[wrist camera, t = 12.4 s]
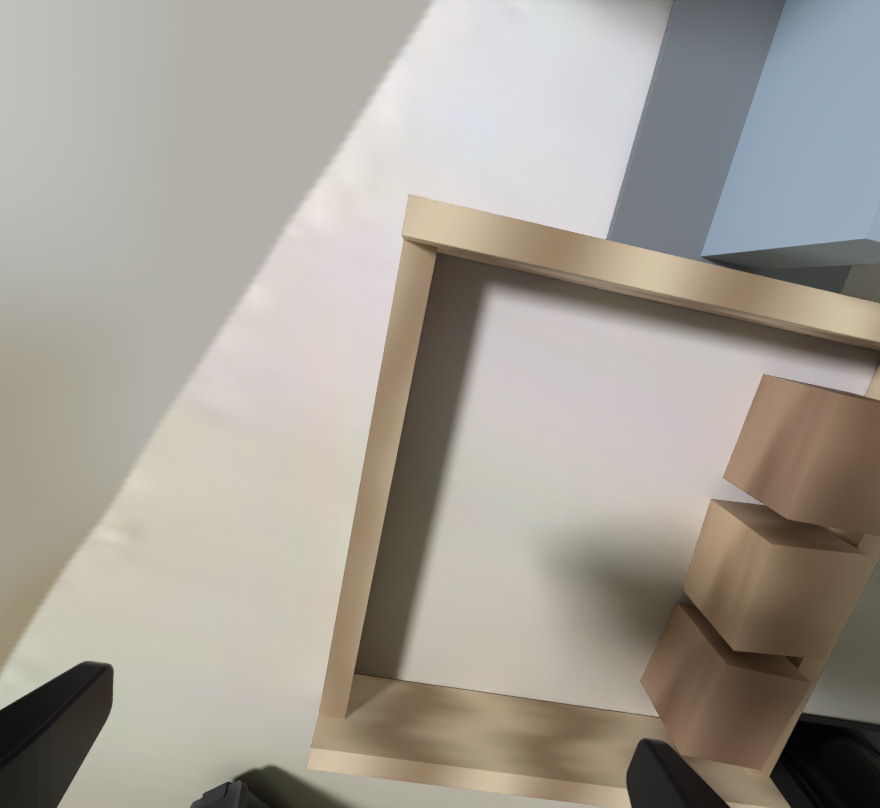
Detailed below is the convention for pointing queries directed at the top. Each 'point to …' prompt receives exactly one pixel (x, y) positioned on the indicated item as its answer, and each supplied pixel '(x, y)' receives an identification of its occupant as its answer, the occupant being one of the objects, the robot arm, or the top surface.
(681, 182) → the mat
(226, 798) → the magazine
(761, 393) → the offcut
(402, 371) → the frame
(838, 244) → the light blue rectangular panel
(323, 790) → the top surface
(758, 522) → the offcut
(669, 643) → the offcut
